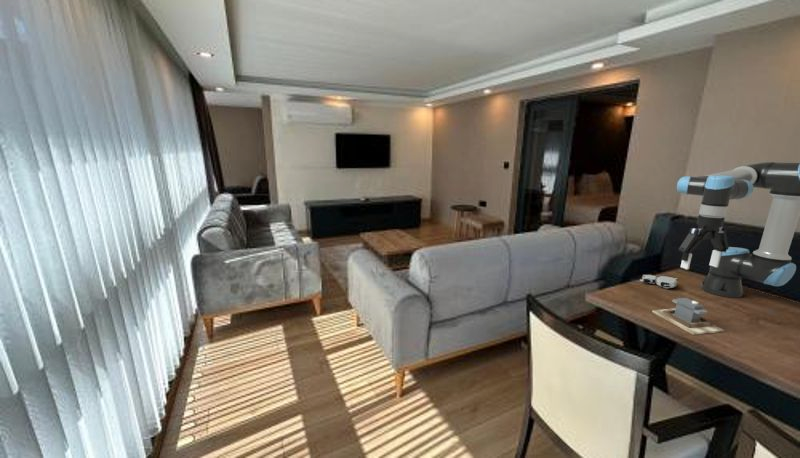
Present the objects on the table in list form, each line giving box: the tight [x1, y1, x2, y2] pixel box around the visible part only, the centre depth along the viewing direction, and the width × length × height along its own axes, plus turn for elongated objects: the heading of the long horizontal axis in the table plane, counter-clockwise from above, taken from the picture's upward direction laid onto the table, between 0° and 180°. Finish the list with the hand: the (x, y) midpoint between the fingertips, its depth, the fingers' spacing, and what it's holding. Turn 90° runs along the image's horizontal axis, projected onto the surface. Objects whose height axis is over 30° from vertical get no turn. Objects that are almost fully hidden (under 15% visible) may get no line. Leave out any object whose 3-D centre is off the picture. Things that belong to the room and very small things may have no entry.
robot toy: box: [639, 274, 678, 289], centre depth 169 cm, size 12×4×15 cm
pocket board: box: [652, 307, 725, 336], centre depth 134 cm, size 14×18×2 cm
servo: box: [672, 297, 708, 323], centre depth 133 cm, size 4×11×9 cm, turn 8°
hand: (699, 267), depth 128 cm, fingers open, 13 cm apart
